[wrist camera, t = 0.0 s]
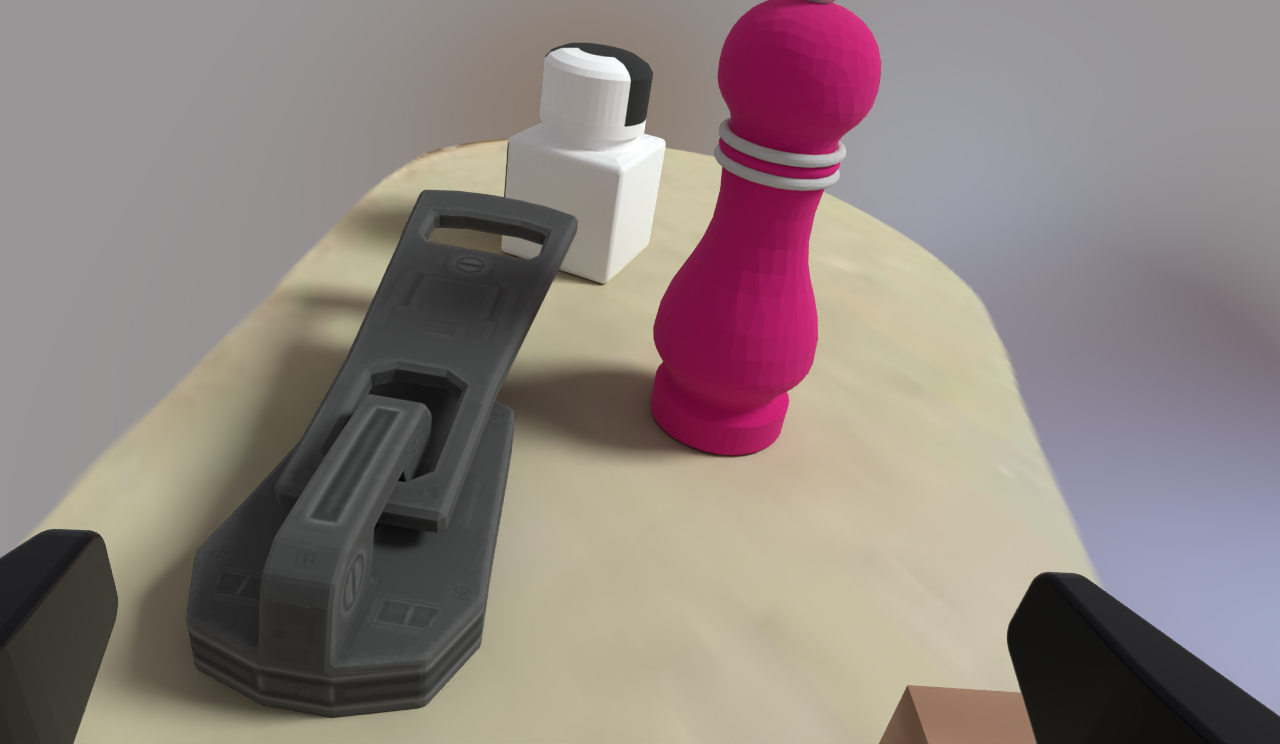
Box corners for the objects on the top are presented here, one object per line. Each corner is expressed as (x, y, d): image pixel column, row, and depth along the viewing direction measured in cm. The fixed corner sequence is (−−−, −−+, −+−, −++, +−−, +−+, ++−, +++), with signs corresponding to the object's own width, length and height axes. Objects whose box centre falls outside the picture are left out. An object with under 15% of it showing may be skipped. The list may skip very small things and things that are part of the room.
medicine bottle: (551, 216, 58) (570, 28, 51) (650, 246, 56) (682, 55, 50) (497, 252, 52) (512, 45, 46) (606, 287, 50) (636, 77, 44)
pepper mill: (801, 473, 38) (958, -16, 27) (638, 452, 37) (734, -54, 27) (780, 384, 44) (902, -44, 34) (640, 365, 44) (719, -76, 33)
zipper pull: (593, 210, 43) (460, 578, 21) (578, 326, 46) (451, 741, 25) (414, 178, 43) (102, 516, 21) (413, 297, 46) (143, 688, 25)
